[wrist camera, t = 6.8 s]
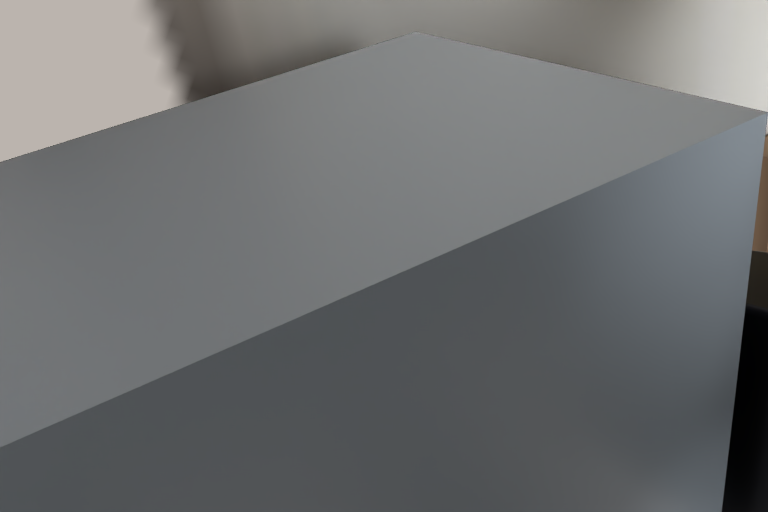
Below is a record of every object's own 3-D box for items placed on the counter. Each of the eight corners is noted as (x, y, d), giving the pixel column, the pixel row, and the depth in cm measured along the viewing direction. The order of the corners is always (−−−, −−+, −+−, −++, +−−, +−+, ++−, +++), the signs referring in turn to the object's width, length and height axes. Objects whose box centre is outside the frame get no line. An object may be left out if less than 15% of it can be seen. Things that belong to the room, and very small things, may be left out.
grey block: (134, 547, 10) (204, 981, 6) (-89, 190, 7) (-284, 570, 3) (471, 376, 11) (710, 613, 7) (416, 31, 8) (768, 112, 4)
